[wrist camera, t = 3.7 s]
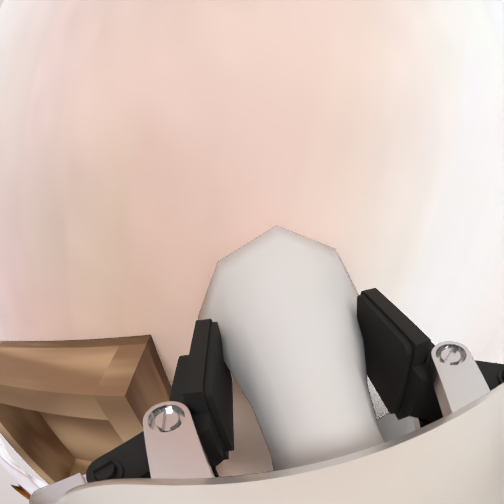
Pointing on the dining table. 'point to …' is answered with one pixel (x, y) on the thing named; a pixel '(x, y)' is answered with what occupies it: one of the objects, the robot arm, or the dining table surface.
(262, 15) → the dining table surface
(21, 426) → the walnut well
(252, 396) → the flask
